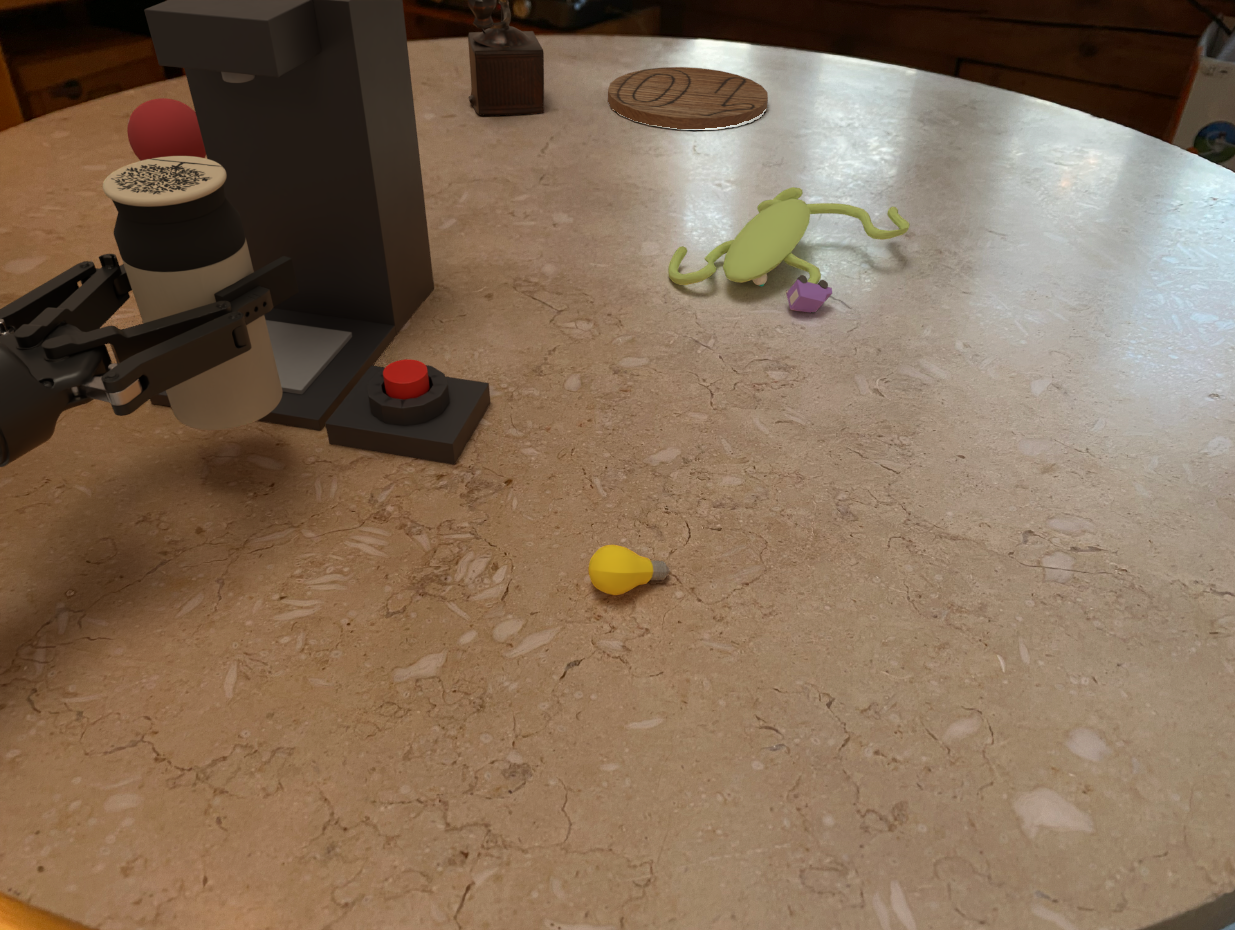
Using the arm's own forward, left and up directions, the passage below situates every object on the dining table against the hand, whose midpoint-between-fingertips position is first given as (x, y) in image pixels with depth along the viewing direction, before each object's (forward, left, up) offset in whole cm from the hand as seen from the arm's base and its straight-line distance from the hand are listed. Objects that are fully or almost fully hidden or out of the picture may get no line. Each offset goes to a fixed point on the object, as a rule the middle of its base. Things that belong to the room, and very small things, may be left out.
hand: (246, 260), depth 69 cm
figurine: (+39, +43, -16) cm, 60 cm away
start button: (+10, +4, -12) cm, 16 cm away
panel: (+10, +4, -16) cm, 19 cm away
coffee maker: (-5, +14, -16) cm, 22 cm away
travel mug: (-1, -5, -10) cm, 11 cm away
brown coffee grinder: (-7, +83, -16) cm, 85 cm away
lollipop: (-28, +32, -16) cm, 45 cm away
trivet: (+19, +94, -16) cm, 97 cm away
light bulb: (+32, -10, -16) cm, 37 cm away
